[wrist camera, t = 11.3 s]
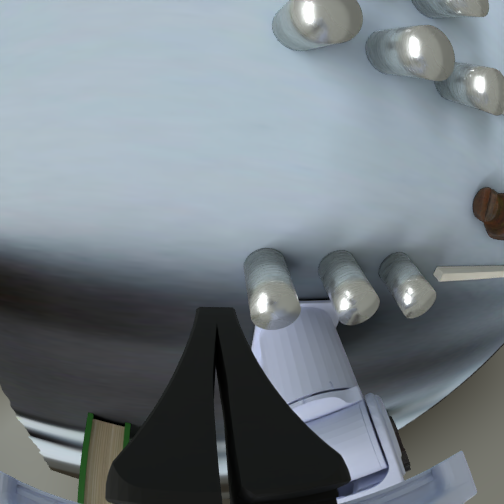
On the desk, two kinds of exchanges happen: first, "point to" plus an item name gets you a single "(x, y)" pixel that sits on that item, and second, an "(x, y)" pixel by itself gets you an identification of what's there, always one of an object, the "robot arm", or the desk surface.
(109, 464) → the hardback book
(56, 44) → the desk surface
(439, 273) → the tray rim
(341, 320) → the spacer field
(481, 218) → the bolt
